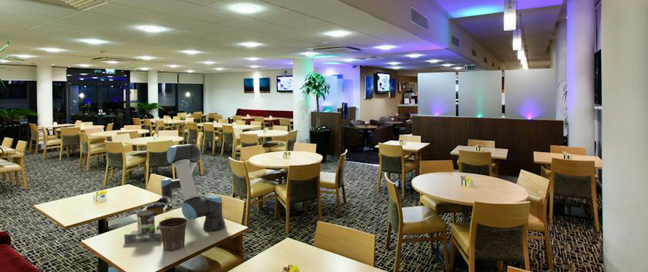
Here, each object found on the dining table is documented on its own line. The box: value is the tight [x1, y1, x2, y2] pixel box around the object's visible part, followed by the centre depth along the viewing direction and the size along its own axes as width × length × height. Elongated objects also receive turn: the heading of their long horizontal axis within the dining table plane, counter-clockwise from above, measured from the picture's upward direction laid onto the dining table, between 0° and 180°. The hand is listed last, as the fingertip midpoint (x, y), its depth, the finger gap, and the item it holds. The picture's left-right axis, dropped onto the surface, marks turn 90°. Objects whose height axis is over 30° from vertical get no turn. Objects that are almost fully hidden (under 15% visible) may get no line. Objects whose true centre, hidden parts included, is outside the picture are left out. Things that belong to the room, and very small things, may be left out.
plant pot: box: [158, 216, 188, 252], centre depth 217 cm, size 16×16×16 cm
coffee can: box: [136, 210, 156, 234], centre depth 229 cm, size 10×10×14 cm
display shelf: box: [123, 229, 163, 244], centre depth 230 cm, size 22×14×6 cm, turn 97°
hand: (153, 211), depth 240 cm, fingers open, 13 cm apart
